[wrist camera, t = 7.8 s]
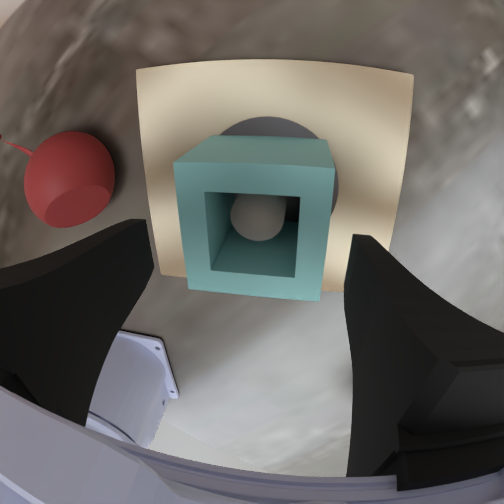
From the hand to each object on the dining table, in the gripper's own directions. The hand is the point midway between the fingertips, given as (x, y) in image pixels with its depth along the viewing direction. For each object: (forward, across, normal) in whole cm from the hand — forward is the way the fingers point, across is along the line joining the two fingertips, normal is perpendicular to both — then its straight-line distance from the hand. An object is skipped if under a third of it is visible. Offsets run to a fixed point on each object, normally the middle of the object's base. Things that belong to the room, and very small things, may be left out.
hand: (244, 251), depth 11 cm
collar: (+6, 0, 0) cm, 6 cm away
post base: (+8, 0, 0) cm, 8 cm away
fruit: (+8, +13, -2) cm, 16 cm away
